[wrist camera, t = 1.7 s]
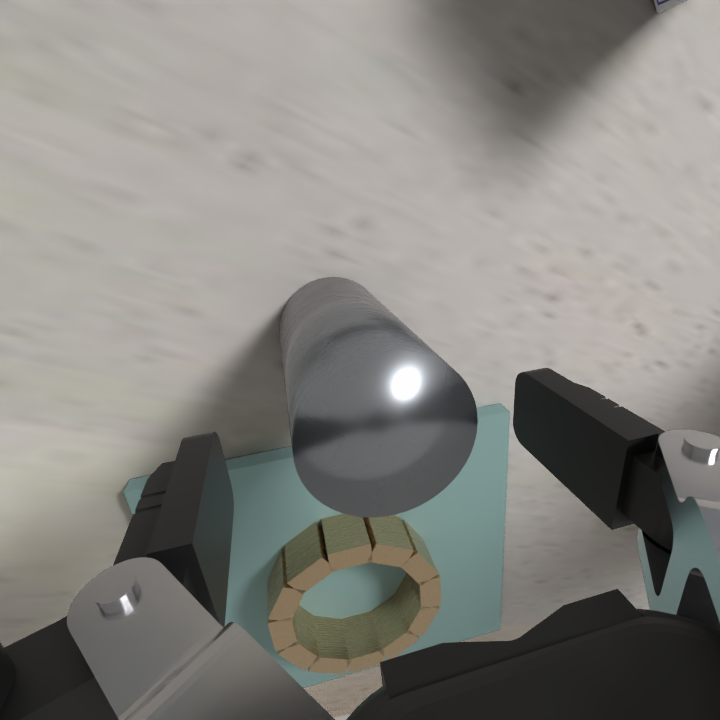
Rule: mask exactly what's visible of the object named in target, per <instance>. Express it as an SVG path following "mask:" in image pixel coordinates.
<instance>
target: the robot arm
mask: <svg viewBox="0 0 720 720" xmlns="http://www.w3.org/2000/svg"><path fill="white" fill-rule="evenodd" d="M513 426H514V431H515V434H516V437H517V439H518V440H519V442H520V443H521V445H522V446H523V447H525V448H526V449H527V450H528V451H529V452H530V453H531V454H532V455H533V456H534V457H535V458H536V459H537V460H538V461H539V462H540V463H541V464H543V465H544V466H545V467H546V468H547V469H548V470H549V471H550V472H551V473H552V474H553V475H554V476H555V477H556V478H557V479H558V480H559V481H561V482H562V483H563V484H564V485H565V486H566V487H567V488H568V489H569V490H570V491H571V492H572V493H573V494H574V495H575V496H576V497H578V498H579V499H580V500H581V501H582V502H583V503H584V504H585V505H586V506H587V507H588V508H589V509H590V510H591V511H592V512H593V513H594V514H596V515H597V516H598V517H599V518H600V519H601V520H602V521H603V522H604V523H605V524H606V525H607V526H608V527H609V528H610V529H611V530H613V529H617V528H620V527H624V526H627V525H631V524H636V525H637V526H638V527H639V530H638V535H637V545H638V550H639V556H640V561H641V566H642V571H643V577H644V582H645V587H646V592H647V598H648V603H649V608H650V610H644V609H636V608H635V607H634V606H633V605H632V604H631V603H630V602H629V601H628V600H627V599H626V597H625V596H624V595H623V594H622V593H621V592H620V591H619V590H618V589H616V590H612V591H609V592H606V593H603V594H599V595H596V596H593V597H590V598H586V599H583V600H580V601H577V602H573V603H570V604H567V605H564V606H562V607H561V608H560V609H558V610H557V611H556V612H554V613H553V614H551V615H550V616H549V617H547V618H546V619H545V620H543V621H542V622H540V623H539V624H538V625H536V626H535V627H534V628H532V629H531V630H529V631H528V632H527V633H525V634H524V635H523V636H521V637H520V638H518V639H516V640H512V641H490V642H450V643H440V644H437V645H434V646H431V647H427V648H424V649H421V650H418V651H414V652H411V653H408V654H405V655H402V656H398V657H395V658H392V659H389V660H385V661H382V662H380V667H381V676H382V684H383V687H381V688H380V689H378V690H377V691H376V692H374V693H373V694H371V695H370V696H369V697H368V698H367V699H366V700H365V701H363V702H362V703H361V704H360V705H359V706H358V707H357V708H356V709H355V710H354V711H353V713H352V714H351V715H350V716H349V717H348V719H347V720H720V437H718V436H716V435H713V434H709V433H706V432H701V431H696V430H687V429H676V430H669V431H666V432H665V431H663V430H662V429H660V428H658V427H656V426H655V425H653V424H651V423H649V422H648V421H646V420H644V419H643V418H641V417H639V416H637V415H636V414H634V413H632V412H630V411H629V410H627V409H625V408H624V407H619V405H618V404H617V403H615V402H613V401H611V400H610V399H606V398H605V396H603V395H601V394H599V393H598V392H596V391H594V390H592V389H591V388H589V387H585V386H582V385H579V384H576V383H573V382H572V381H570V380H568V379H566V378H565V377H563V376H561V375H560V374H558V373H556V372H555V371H553V370H551V369H549V368H542V369H537V370H532V371H527V372H522V373H520V374H518V376H517V378H516V382H515V399H514V417H513ZM233 515H234V498H233V490H232V485H231V481H230V477H229V473H228V470H227V466H226V462H225V459H224V455H223V451H222V447H221V444H220V440H219V437H218V435H217V433H216V432H212V433H207V434H202V435H197V436H192V437H187V438H183V439H182V442H181V445H180V448H179V451H178V454H177V458H176V461H172V462H167V463H162V464H161V465H160V466H159V467H158V468H157V470H156V471H155V472H154V473H153V474H152V475H151V476H150V477H149V478H148V479H147V481H146V484H145V486H144V489H143V491H142V494H141V499H139V501H138V504H137V506H136V509H135V514H133V516H132V519H131V521H130V524H129V527H128V529H127V532H126V534H125V537H124V539H123V542H122V544H121V547H120V549H119V552H118V554H117V557H116V559H115V562H114V564H113V566H112V567H110V568H108V569H106V570H105V571H103V572H101V573H100V574H99V575H97V576H96V577H94V578H93V579H92V580H91V581H90V582H89V583H88V584H87V585H86V586H85V587H84V588H83V589H82V590H81V591H80V592H79V593H78V595H77V596H76V597H75V599H74V601H73V602H72V604H71V606H70V609H69V611H68V615H67V616H66V617H65V618H63V619H61V620H59V621H57V622H55V623H53V624H51V625H49V626H47V627H45V628H43V629H41V630H39V631H37V632H35V633H33V634H31V635H29V636H27V637H25V638H23V639H21V640H19V641H17V642H15V643H13V644H11V645H9V646H7V647H5V648H4V647H3V646H2V644H1V643H0V720H335V719H334V718H333V717H332V716H331V715H330V714H329V713H328V712H327V711H326V710H325V709H324V708H323V707H322V706H321V705H320V704H319V703H318V702H317V701H316V700H315V699H314V698H313V697H312V696H311V695H310V694H309V693H308V692H307V691H306V690H305V689H304V688H303V687H302V686H301V685H300V684H299V683H298V682H297V681H296V680H295V679H294V678H293V677H292V676H291V675H289V674H288V673H287V672H286V671H285V670H284V669H283V668H282V667H281V666H280V665H279V664H278V663H277V662H276V661H275V660H274V659H273V658H272V657H271V656H270V655H269V654H268V653H267V652H266V651H265V650H264V649H263V648H262V647H261V646H260V645H259V644H258V643H257V642H256V641H255V640H254V639H253V638H252V637H251V636H250V635H249V634H248V633H247V632H246V631H245V630H244V629H243V628H242V627H241V626H239V625H238V624H236V623H235V622H229V623H228V624H227V625H226V626H225V616H226V603H227V591H228V578H229V566H230V553H231V540H232V528H233Z"/></svg>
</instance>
